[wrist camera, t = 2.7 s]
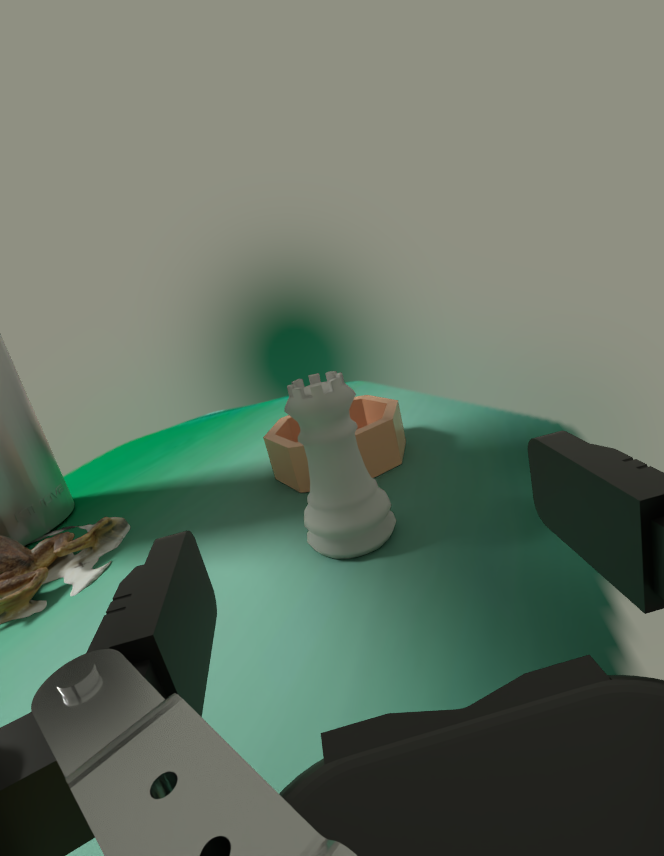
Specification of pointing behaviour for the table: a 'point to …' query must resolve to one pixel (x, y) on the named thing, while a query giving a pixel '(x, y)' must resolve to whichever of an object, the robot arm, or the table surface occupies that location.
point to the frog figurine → (53, 564)
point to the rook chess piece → (337, 472)
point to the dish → (374, 436)
